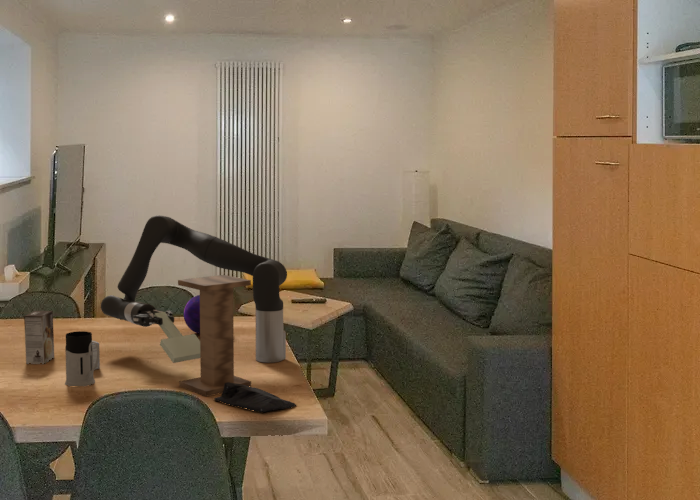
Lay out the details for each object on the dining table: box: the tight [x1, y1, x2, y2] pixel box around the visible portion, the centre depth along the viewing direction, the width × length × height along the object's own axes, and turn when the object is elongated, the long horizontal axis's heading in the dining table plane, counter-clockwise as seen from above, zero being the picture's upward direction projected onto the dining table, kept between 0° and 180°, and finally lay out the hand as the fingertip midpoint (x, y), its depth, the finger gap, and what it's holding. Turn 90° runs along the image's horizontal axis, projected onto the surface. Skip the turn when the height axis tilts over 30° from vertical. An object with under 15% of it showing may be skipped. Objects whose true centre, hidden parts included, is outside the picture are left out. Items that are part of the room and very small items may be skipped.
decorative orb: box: [183, 294, 200, 335], centre depth 332 cm, size 15×15×15 cm
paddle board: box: [154, 311, 200, 364], centre depth 276 cm, size 12×22×2 cm
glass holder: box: [64, 330, 100, 387], centre depth 262 cm, size 9×14×15 cm, turn 51°
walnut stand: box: [177, 274, 252, 397], centre depth 260 cm, size 16×14×32 cm
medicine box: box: [92, 340, 101, 370], centre depth 279 cm, size 8×4×9 cm, turn 130°
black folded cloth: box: [213, 382, 297, 413], centre depth 246 cm, size 15×22×5 cm
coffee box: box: [23, 310, 55, 365], centre depth 289 cm, size 9×6×16 cm
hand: (167, 320), depth 279 cm, fingers closed on paddle board, 3 cm apart
